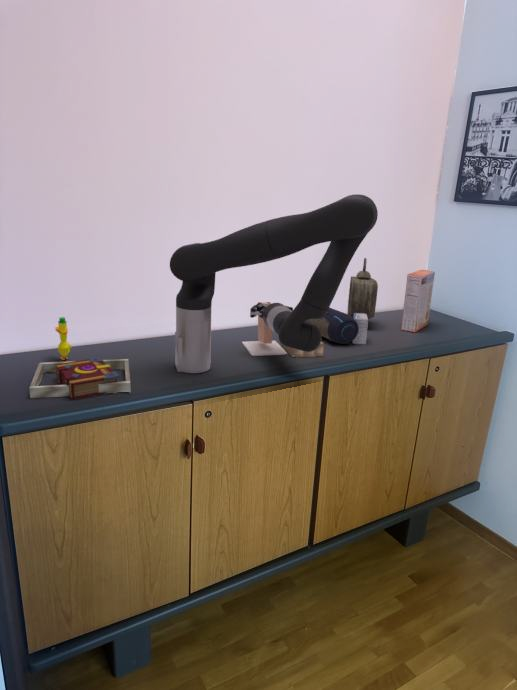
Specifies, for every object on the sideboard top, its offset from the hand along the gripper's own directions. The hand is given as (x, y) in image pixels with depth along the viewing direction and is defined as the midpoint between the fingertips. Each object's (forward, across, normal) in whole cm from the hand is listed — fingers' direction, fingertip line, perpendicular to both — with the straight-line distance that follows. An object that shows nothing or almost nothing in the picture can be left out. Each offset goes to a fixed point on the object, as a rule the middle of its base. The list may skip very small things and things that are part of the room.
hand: (263, 305), depth 157 cm
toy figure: (-6, +58, +12) cm, 60 cm away
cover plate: (-3, 0, +11) cm, 11 cm away
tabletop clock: (+18, -43, +13) cm, 48 cm away
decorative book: (-25, +52, +13) cm, 59 cm away
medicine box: (0, -34, +13) cm, 36 cm away
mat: (-4, 0, +13) cm, 13 cm away
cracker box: (+13, -63, +14) cm, 66 cm away
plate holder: (-8, -11, +13) cm, 18 cm away
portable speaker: (+7, -24, +13) cm, 29 cm away
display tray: (-24, +52, +12) cm, 59 cm away
